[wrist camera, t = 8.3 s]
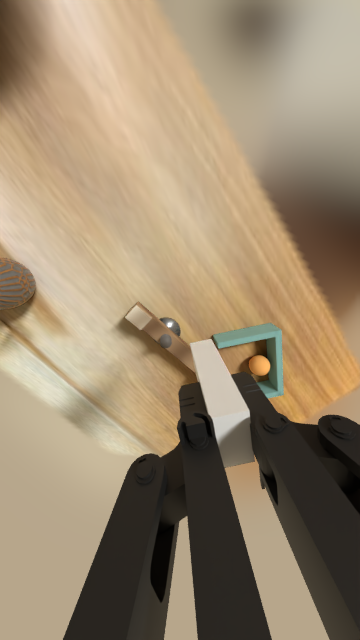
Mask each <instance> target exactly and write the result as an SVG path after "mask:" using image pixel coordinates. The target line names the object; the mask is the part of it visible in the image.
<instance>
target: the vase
mask: <svg viewBox="0 0 360 640" xmlns="http://www.w3.org/2000/svg"><path fill="white" fill-rule="evenodd" d="M35 287H36V285H35V279H34V277H33V275H32V273H31V272H30V271H29V270H28V269H27V268H26V267H25V266H23V265H22V264H20V263H18V262H16V261H14V260H11V259H7V258H0V310H5V309H12V308H15V307H18V306H20V305H22V304H24V303H26V302H27V301H28V300H29V299H30V298H31V297H32V295H33V294H34V291H35Z"/></svg>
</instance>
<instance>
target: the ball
mask: <svg viewBox="0 0 360 640" xmlns="http://www.w3.org/2000/svg"><path fill="white" fill-rule="evenodd" d="M249 368H250V370H251V372H252V373H254V374H255V375H259V376H262V375H265V374H267V373H268V372H269V370H270V362H269V361H268V359H267V358H266V357H264V356H261V355H256V356H254V357H252V358H251V359H250V361H249Z"/></svg>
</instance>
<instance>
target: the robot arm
mask: <svg viewBox="0 0 360 640" xmlns="http://www.w3.org/2000/svg"><path fill="white" fill-rule="evenodd" d="M190 347H191V352H192V356H193V361H194V366H195V371H196V376H197V380H198V382H197V383H192V384H188V385H183V386H181V388H180V391H179V404H180V415H181V418H180V420H179V421H178V425H177V430H178V434H179V438H180V442H179V444H178V445H177V446H176V448H175V449H174V450H172V451H171V452H169V453H167V454H166V455H164V456H162V457H159V456H158V455H156V454H145V455H143V456H141V457H139V458H137V459H136V461H134V462H133V463H132V465H131V466H130V468H129V470H128V472H127V474H126V477H125V480H124V482H123V485H122V487H121V490H120V493H119V495H118V498H117V500H116V503H115V506H114V508H113V511H112V514H111V516H110V519H109V521H108V524H107V526H106V529H105V532H104V534H103V537H102V539H101V542H100V545H99V547H98V550H97V552H96V555H95V558H94V560H93V563H92V565H91V568H90V571H89V573H88V576H87V578H86V581H85V584H84V586H83V589H82V591H81V594H80V597H79V599H78V602H77V604H76V607H75V610H74V612H73V615H72V617H71V620H70V623H69V625H68V628H67V630H66V633H65V636H64V638H63V640H164V634H165V626H166V619H167V611H168V603H169V596H170V588H171V580H172V573H173V565H174V558H175V549H176V542H177V535H178V527H179V521H180V520H181V519H183V518H184V517H186V516H188V528H189V540H190V552H191V563H192V575H193V587H194V598H195V610H196V621H197V634H198V640H272V639H271V635H270V631H269V628H268V624H267V620H266V617H265V613H264V610H263V606H262V603H261V599H260V595H259V591H258V588H257V584H256V581H255V577H254V573H253V570H252V566H251V562H250V559H249V556H248V552H247V548H246V544H245V541H244V537H243V533H242V530H241V526H240V523H239V519H238V515H237V512H236V508H235V504H234V501H233V497H232V494H231V490H230V486H229V483H228V480H227V476H226V472H225V468H226V467H231V466H236V465H240V464H245V463H250V462H254V461H255V459H254V455H255V457H256V459H257V461H258V464H259V471H260V482H261V486H262V489H265V487H266V490H267V492H268V495H269V497H270V499H271V501H272V503H273V506H274V509H275V511H276V514H277V516H278V518H279V521H280V523H281V525H282V528H283V530H284V532H285V535H286V537H287V540H288V542H289V544H290V547H291V548H292V551H293V553H294V556H295V559H296V561H297V563H298V566H299V568H300V570H301V573H302V575H303V577H304V580H305V582H306V585H307V587H308V589H309V592H310V594H311V596H312V599H313V601H314V603H315V606H316V608H317V611H318V613H319V615H320V617H321V620H322V622H323V625H324V627H325V630H326V632H327V634H328V637H329V639H330V640H360V425H359V424H357V423H356V422H354V421H352V420H350V419H348V418H345V417H342V416H339V415H326V416H323V417H321V418H320V419H319V421H318V425H312V424H301V423H295V422H292V421H290V420H289V419H288V418H287V417H286V416H284V415H282V414H280V413H278V412H277V411H276V410H275V408H274V407H273V405H272V404H271V403H270V401H269V400H268V398H267V397H266V395H265V394H264V393H263V391H262V390H261V388H260V387H259V385H258V384H257V383H256V381H255V380H254V378H253V377H252V376H251V375H249V374H247V373H246V372H241V373H237V374H232V375H230V373H229V371H228V369H227V367H226V365H225V364H224V362H223V360H222V358H221V356H220V354H219V352H218V350H217V348H216V347H215V345H214V343H213V341H212V339H208V340H203V341H198V342H194V343H190Z"/></svg>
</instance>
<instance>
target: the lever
mask: <svg viewBox="0 0 360 640" xmlns="http://www.w3.org/2000/svg"><path fill="white" fill-rule="evenodd" d="M125 318H126V319H127V320H129V321H130V322H131V323H132V324H134V325H135V326H136V327H137V328H138V329H140V330H142V329H143V330H144V331H145V332H146V333H147V334H149V335H150V336H151V337H152V338H153V339H155V340H156V341H157V342H158V343H159V344H160V345H161V347H163V348H165V349H167V350H168V351H169V352H170V353H172V354H173V355H174V356H175V357H176V358H178V359H179V360H180V361H181V362H182V363H184V364H185V365H186V366H187V367H188V368H190V369H191V370H192V371H193V372H195V373H196V371H195V366H194V361H193V356H192V352H191V347H190V346H189V345H188V344H187V343H186V342H184V341H183V340H182V339H181V338H180V337H179V336H178V335H176V334H175V333H174V332H173V331H172V330H171V329H170V328H168V327H167V326H166V325H165V324H164V323H163V322H161V321H160V320H159V319H158V318H157V317H156V316H155V315H153V314H152V313H151V312H150V311H149V310H148V309H147V308H145V307H144V306H143V305H142V304H141V303H140V302H137V303H136V304H135V305H134V306H133V307H132V309H131V310H130V311H129V312H128V313H127V315H126V316H125Z"/></svg>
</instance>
